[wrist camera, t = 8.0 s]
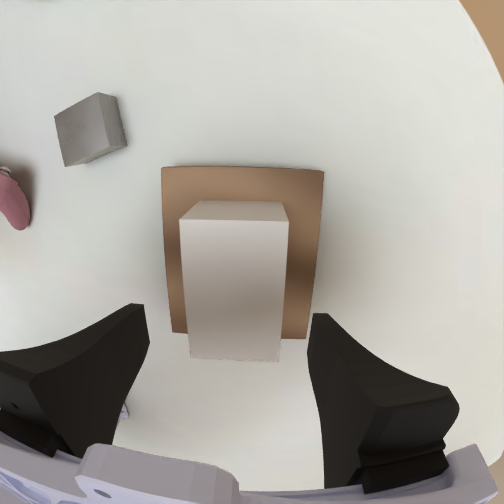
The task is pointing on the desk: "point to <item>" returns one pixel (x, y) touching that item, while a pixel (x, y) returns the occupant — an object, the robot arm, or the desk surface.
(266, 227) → the light grey rectangular block
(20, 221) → the video game controller
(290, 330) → the tan curved panel
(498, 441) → the desk surface
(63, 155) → the grey block
